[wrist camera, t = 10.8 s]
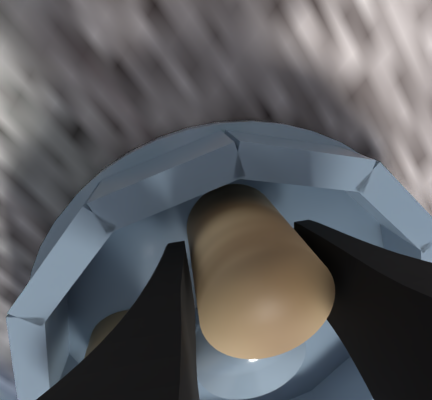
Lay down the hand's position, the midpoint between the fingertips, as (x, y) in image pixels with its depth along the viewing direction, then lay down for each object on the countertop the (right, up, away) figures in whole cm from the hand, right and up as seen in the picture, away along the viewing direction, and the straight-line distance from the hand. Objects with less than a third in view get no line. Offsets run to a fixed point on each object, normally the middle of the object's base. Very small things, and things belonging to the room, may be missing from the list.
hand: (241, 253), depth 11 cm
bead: (0, +1, +2) cm, 2 cm away
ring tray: (0, -4, +5) cm, 6 cm away
